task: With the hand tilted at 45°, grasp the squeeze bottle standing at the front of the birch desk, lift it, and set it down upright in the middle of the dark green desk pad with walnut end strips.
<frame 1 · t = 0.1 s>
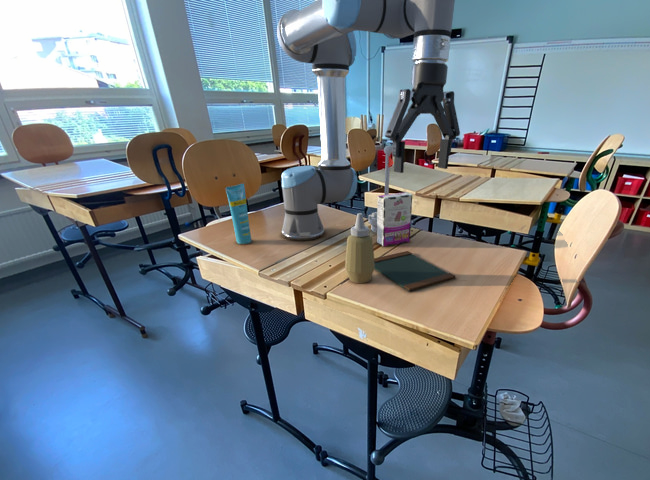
hand: (421, 170, 82), 28 cm above the table, tool pointing down, fingers open, 13 cm apart
flag stand: (385, 229, 132), on the table
squeeze bottle: (360, 279, 93), on the table
tube: (244, 242, 118), on the table
candy bar box: (393, 242, 119), on the table
desk pad: (408, 270, 98), on the table
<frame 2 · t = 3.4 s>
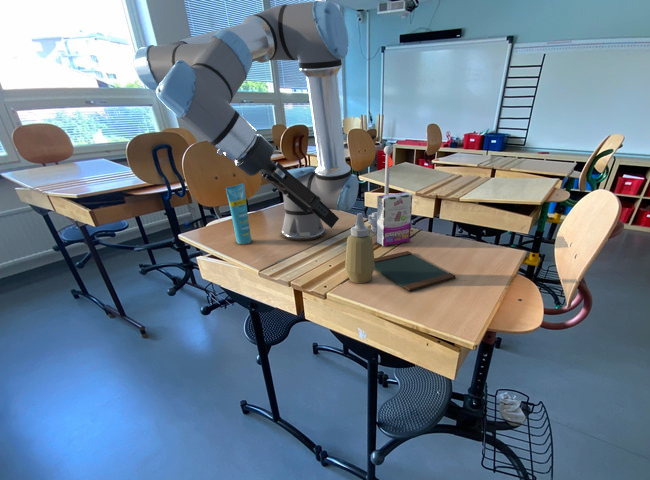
hand: (321, 215, 79), 19 cm above the table, tool tilted 45°, fingers open, 13 cm apart
nothing on the table moved.
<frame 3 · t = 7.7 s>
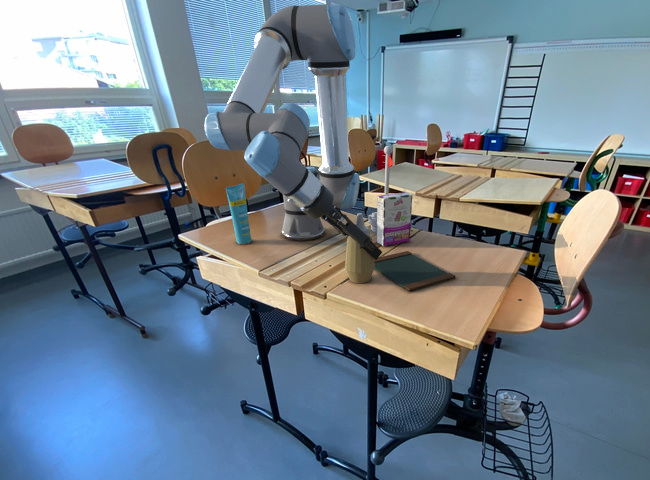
hand: (371, 251, 91), 7 cm above the table, tool tilted 45°, fingers closed on squeeze bottle, 6 cm apart
squeeze bottle: (359, 279, 93), on the table, touching gripper
everything else where it was.
when the fingers open (8 cm above the table, at t = 16.5 s): squeeze bottle stays where it is, resting on desk pad.
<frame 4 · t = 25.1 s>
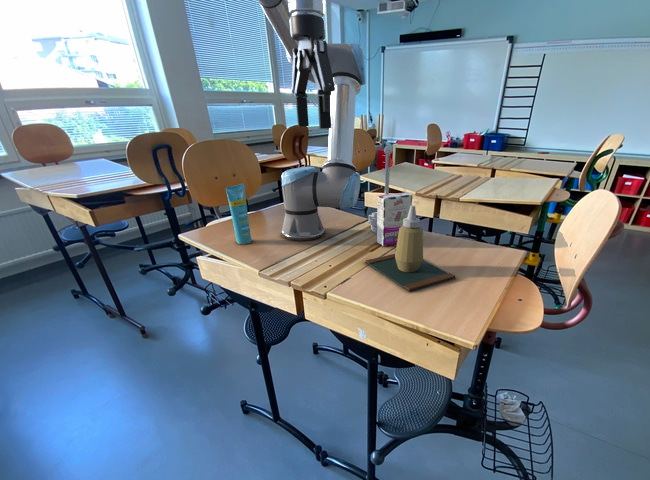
hand: (313, 127, 83), 37 cm above the table, tool pointing down, fingers open, 13 cm apart
squeeze bottle: (408, 269, 98), resting on desk pad
everything else where it was.
at the end: squeeze bottle inside the target area on the desk pad (0.1 cm from its centre), point 0.4 cm above the desk pad's base; squeeze bottle tilted 0°; the gripper is holding nothing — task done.
